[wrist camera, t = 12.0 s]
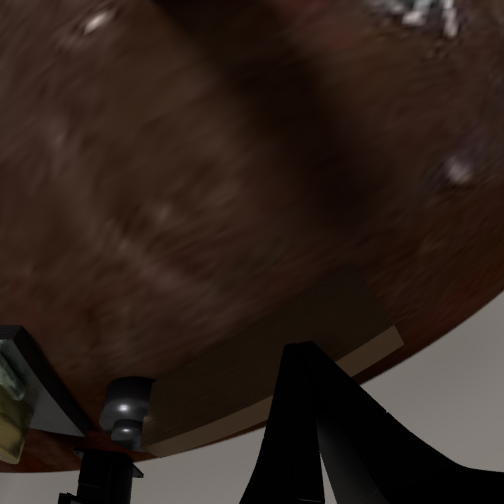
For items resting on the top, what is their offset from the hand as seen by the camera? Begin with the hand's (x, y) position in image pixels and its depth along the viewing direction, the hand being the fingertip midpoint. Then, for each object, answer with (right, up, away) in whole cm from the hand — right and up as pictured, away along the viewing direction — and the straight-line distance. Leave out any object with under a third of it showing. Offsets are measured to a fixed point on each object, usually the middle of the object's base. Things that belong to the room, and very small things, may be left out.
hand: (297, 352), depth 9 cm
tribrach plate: (-22, -8, +10) cm, 26 cm away
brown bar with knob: (-4, -3, +9) cm, 11 cm away
